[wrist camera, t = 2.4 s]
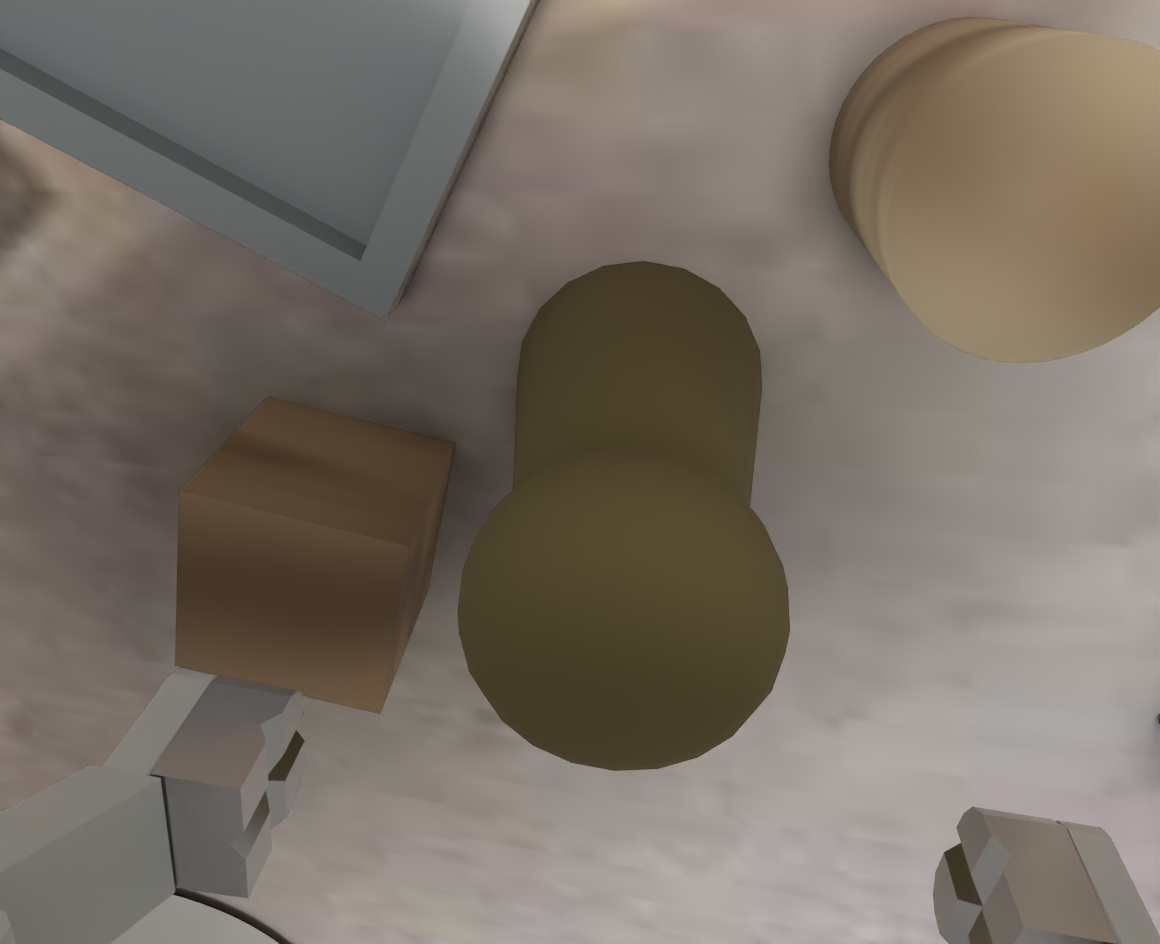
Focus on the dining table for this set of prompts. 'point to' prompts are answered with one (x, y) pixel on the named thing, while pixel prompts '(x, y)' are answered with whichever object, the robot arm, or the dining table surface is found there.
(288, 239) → the slate dish
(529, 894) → the dining table surface
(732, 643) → the olive hourglass shape
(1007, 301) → the cork cylinder
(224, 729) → the robot arm
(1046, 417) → the dining table surface
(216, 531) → the walnut block
